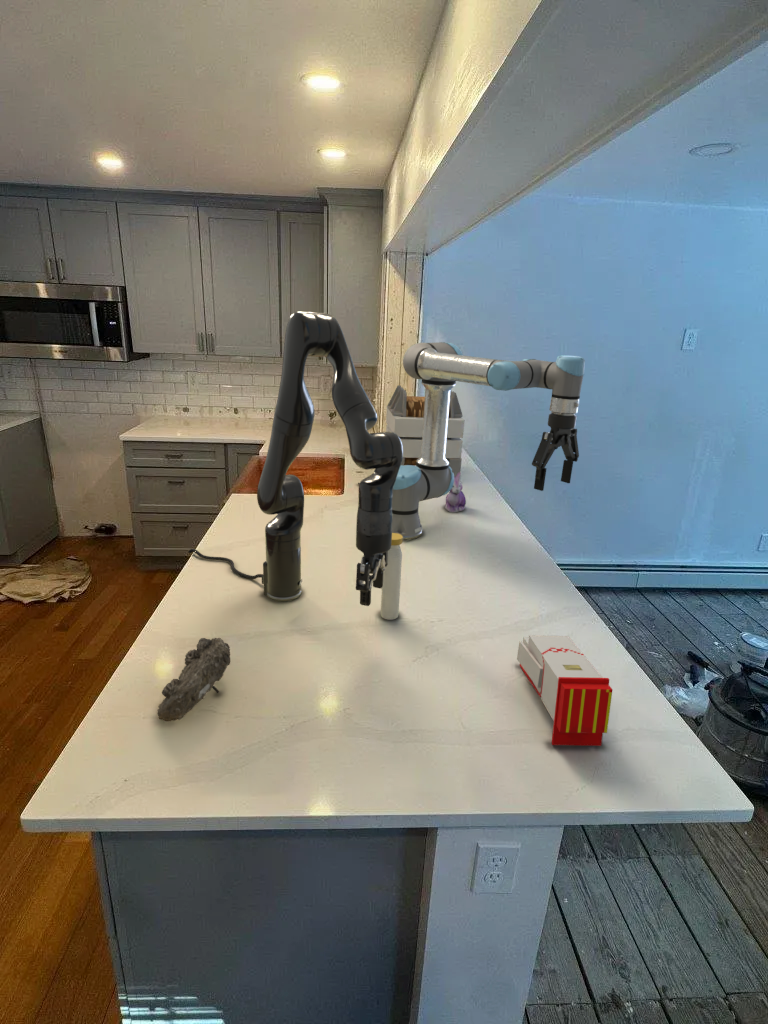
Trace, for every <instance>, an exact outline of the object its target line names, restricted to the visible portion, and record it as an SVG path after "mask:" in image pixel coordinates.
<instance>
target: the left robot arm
mask: <svg viewBox="0 0 768 1024" xmlns="http://www.w3.org/2000/svg"><path fill="white" fill-rule="evenodd" d="M285 327H286V328H285V334H284V343H283V353H282V365H281V374H280V383H279V389H278V394H277V400H276V404H275V409H274V414H273V419H272V425H271V433H270V438H269V442H268V443H269V444H268V448H267V453H266V457H265V460H264V464H263V467H262V471H261V474H260V477H259V481H258V484H257V491H256V500H257V505H258V508H259V509H260V511H261V512H262V513H263V514H265V515H270V516H272V515H276V516H275V517H273V518H272V519H271V520H269V521H268V523H266V525H265V527H264V536H265V537H264V541H265V542H264V543H265V560H264V561H263V562H262V573H257V574H255V575H249V574H246V573H243V572H241V571H239V570H238V569H236V568H235V563H234V561H233V559H231V558H228V557H223V556H211V555H205V554H203V553H201V552H200V551H198V550H197V549H196V548H191V549H189V550H188V551H187V553H189V554H192V553H194V554H196V555H197V556H198V557H200V558H201V559H203V560H208V561H209V560H210V561H224V562H227V563H229V564H230V569H231V571H232V572H233V573H234V574H235V575H238V576H240V577H242V578H245V579H248V580H256V579H258V578H260V579H261V584H262V585H263V595H264V596H267V598H269V599H270V600H273V601H277V602H288V601H289V602H290V601H293V600H295V599H298V598H299V597H300V596H301V595H302V583H303V578H302V543H301V542H302V539H301V538H302V537H301V535H302V533H301V532H302V528H303V525H304V513H305V512H304V511H305V490H304V486H303V483H302V481H301V480H300V478H299V477H298V476H296V475H295V474H287V472H288V471H289V468H290V466H291V465H292V463H294V461H295V460H296V459H297V457H298V456H299V454H300V453H301V452H302V451H303V449H304V448H305V447H306V445H307V444H308V441H309V439H310V437H311V434H312V430H313V425H314V420H315V416H316V411H315V406H314V403H313V399H312V397H311V394H310V392H309V390H308V388H307V384H306V382H305V370H306V369H305V368H306V363H307V359H308V357H315V358H318V357H320V358H321V357H322V358H323V357H324V358H325V359H326V360H327V361H328V363H329V364H330V366H331V368H332V372H333V375H332V384H331V399H332V402H333V403H332V404H333V406H334V408H335V410H336V412H337V415H339V418H340V420H341V422H342V424H343V425H344V429H345V433H346V437H347V443H348V447H349V453H350V457H351V460H352V461H353V463H354V464H355V465H356V466H357V467H358V468H360V469H361V470H365V471H368V470H374V471H373V472H372V474H370V475H368V476H367V477H364V478H363V479H361V480H360V482H359V483H360V484H358V498H357V501H358V503H357V512H356V526H355V547H356V549H357V550H358V551H360V552H361V553H362V554H363V556H362V557H361V560H360V562H358V563H357V564H356V574H355V575H356V577H355V590H356V591H359V605H361V606H366V607H370V605H371V602H372V587H373V588H375V589H382V587H383V574H384V573H383V572H385V567H387V565H388V551H389V550H390V548H391V542H392V522H393V515H392V497H393V487H394V484H395V481H396V478H397V475H398V472H399V469H400V466H401V462H402V458H403V445H402V442H401V440H400V438H399V436H398V435H397V434H395V433H394V432H388V431H387V432H386V431H379V432H371V433H370V432H369V430H371V429H373V427H374V426H375V425H376V424H377V422H378V414H377V411H376V409H375V407H374V405H373V404H372V402H371V400H370V398H369V396H368V395H367V393H366V391H365V389H364V387H363V385H362V383H361V381H360V378H359V376H358V374H357V371H356V367H355V364H354V362H353V359H352V356H351V351H350V350H349V346H348V344H347V341H346V337H345V335H344V331H343V330H342V328H341V325H340V323H339V322H338V320H337V318H336V317H335V316H333V315H332V314H330V313H326V312H316V311H315V312H314V311H303V310H300V311H295V312H293V313H292V314H291V315H290V316H289V319H288V321H287V323H286V326H285ZM195 551H196V552H195ZM370 574H371V575H370Z"/></svg>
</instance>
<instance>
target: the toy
mask: <svg viewBox="0 0 768 1024" xmlns="http://www.w3.org/2000/svg"><path fill="white" fill-rule="evenodd" d="M517 648H518V649H517V655H516V661H517V662H518V663H519V667H520V669H521V670H522V672H523V673H524V675H525V677H526V678H527V680H528V681H529V683H530V684H531V686H532V687H533V689H534V691H535V692H536V693H537V695H538V697H539V698H540V700H541V702H542V703H543V705H544V707H545V709H546V710H547V712H548V714H549V716H550V717H551V719H552V721H553V727H552V736H551V745H552V746H584V747H585V746H586V747H587V746H593V747H594V746H595V747H601V746H602V744H603V743H602V741H603V734H607V733H608V728H609V719H610V713H611V706H612V705H611V704H612V699H613V698H612V696H613V688H612V687H611V686H610V678H609V677H603V676H602V675H601V673H599V671H598V670H597V669H596V667H594V665H593V664H592V662H591V661H590V660H589V659H588V658H587V657H586V655H585V654H584V653H583V652H582V651H581V649H580V648H579V647H578V646H577V645H576V643H575V642H574V640H572V638H571V637H570V636H569V635H540V634H539V635H536V634H535V635H534V634H533V635H531V634H529V635H528V636H523V638H522V640H521V641H519V642H518V647H517Z"/></svg>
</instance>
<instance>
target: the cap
mask: <svg viewBox="0 0 768 1024" xmlns="http://www.w3.org/2000/svg"><path fill="white" fill-rule="evenodd" d="M403 541H404V540H403V536H402V535H400V534H397V533H392V542H391V545H394V546H395V545H400V546H401V545H402V544H403Z"/></svg>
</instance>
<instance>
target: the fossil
mask: <svg viewBox="0 0 768 1024" xmlns="http://www.w3.org/2000/svg"><path fill="white" fill-rule="evenodd" d="M230 648H231V647H230V645H229V644H228V642H225V641H224V640H223V639H222V638H221V637H214V638H211V639H210V638H206V637H201V638H200V639H199V640H198V642H197V644H196V649H194V648H193V649H191V650H189V651H187V653H186V654H185V658H184V661H185V662H184V664H185V666H184V667H183V669H182V670H181V672H180V674H179V676H178V678H173V679H171V680H170V682H167V683H166V685H165V686H163V689H162V690H161V694H162V695H163V696H164V698H163V700H162V702H161V703H159V704H158V709H157V719H158V720H162V721H163V722H165V723H167V722H172V721H173V722H175V721H180V720H182V719H183V718H184V717H185V716H186V715H187V714H188V713H189V712H191V711H192V710H193V709H194V708H195V707H196V706H197V705H198V704H199V703H200V702H201V701H202V700H204V699H205V697H206V695H207V693H208V692H210V691H211V690H214V692H216V694H219V693H220V690H219V689H218V688H217V687H216V686H215V684H216V682H219V681H220V680H221V679H222V678H223V676H224V673H225V671H226V670H227V668H228V667H229V665H231V649H230Z"/></svg>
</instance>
